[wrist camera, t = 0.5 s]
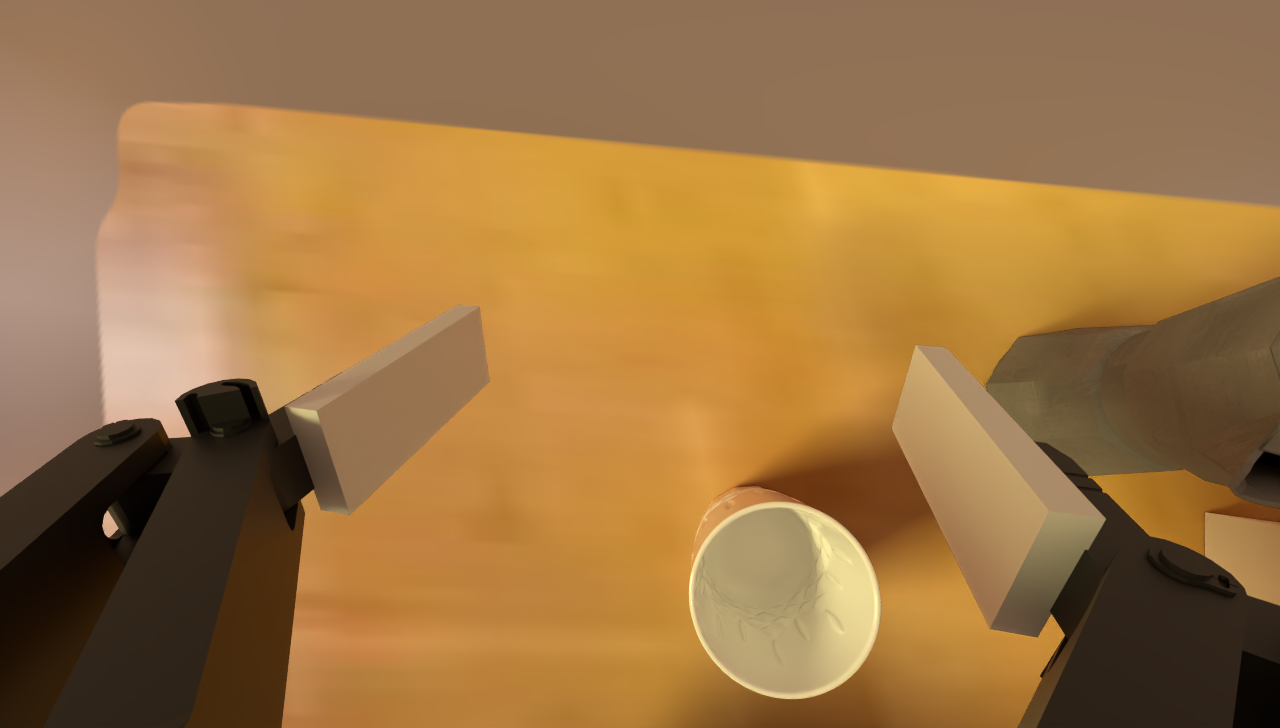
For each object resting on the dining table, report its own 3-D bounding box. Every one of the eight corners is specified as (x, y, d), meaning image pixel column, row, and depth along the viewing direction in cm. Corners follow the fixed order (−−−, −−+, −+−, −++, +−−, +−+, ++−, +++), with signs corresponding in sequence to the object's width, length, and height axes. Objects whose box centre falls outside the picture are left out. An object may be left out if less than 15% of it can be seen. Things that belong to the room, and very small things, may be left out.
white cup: (696, 466, 31) (702, 487, 21) (822, 487, 30) (890, 519, 20) (679, 593, 30) (676, 677, 20) (808, 618, 29) (871, 718, 19)
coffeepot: (1017, 526, 29) (1564, 699, 11) (923, 392, 30) (1270, 348, 12) (1242, 394, 28) (2183, 346, 11) (1137, 264, 30) (1809, 30, 12)
